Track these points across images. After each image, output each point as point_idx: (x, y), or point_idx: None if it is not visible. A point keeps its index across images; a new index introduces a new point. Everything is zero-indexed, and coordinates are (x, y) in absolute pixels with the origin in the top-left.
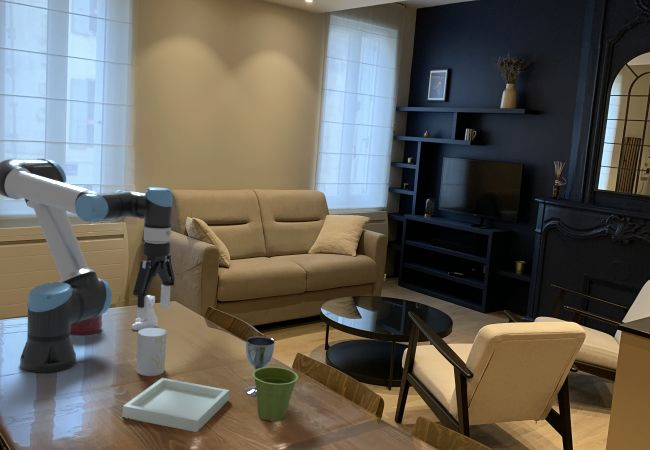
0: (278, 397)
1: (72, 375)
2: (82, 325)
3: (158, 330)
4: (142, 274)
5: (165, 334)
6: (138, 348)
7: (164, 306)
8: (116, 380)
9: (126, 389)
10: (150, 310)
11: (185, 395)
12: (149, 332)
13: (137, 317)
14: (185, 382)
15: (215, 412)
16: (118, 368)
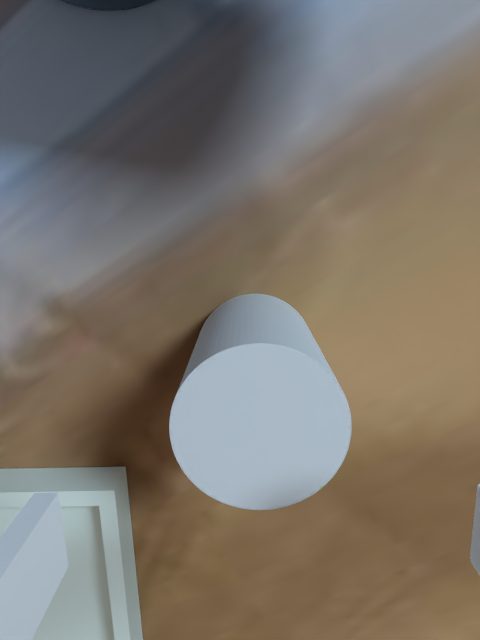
0: None
1: (46, 85)
2: None
3: (305, 447)
4: None
5: (270, 505)
6: (197, 348)
7: (475, 526)
8: (100, 286)
9: (49, 367)
10: None
11: (83, 578)
12: (241, 420)
13: (33, 500)
14: (119, 577)
15: None
16: (213, 219)
